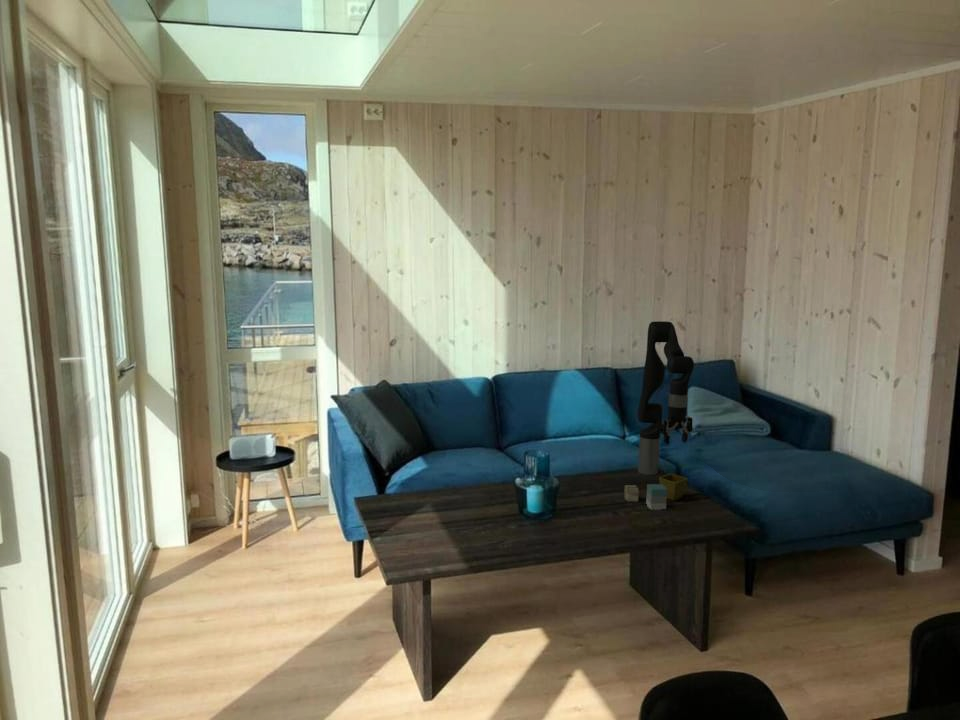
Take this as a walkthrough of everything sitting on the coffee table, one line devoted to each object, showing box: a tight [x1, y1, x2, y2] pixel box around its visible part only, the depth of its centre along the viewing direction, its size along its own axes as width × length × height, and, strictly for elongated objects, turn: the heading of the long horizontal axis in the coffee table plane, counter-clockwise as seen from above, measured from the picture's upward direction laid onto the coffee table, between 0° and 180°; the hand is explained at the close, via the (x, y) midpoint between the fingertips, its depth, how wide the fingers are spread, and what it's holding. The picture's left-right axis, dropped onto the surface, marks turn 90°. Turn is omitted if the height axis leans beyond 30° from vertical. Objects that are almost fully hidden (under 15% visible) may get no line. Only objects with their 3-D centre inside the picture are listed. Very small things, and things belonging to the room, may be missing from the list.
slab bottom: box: [645, 497, 667, 511], centre depth 317 cm, size 6×6×3 cm
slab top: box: [646, 483, 667, 497], centre depth 316 cm, size 6×6×3 cm
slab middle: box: [646, 491, 668, 504], centre depth 316 cm, size 6×6×3 cm
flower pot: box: [658, 473, 688, 501], centre depth 327 cm, size 9×9×9 cm
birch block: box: [623, 484, 639, 502], centre depth 325 cm, size 5×5×6 cm
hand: (675, 443), depth 315 cm, fingers open, 8 cm apart
